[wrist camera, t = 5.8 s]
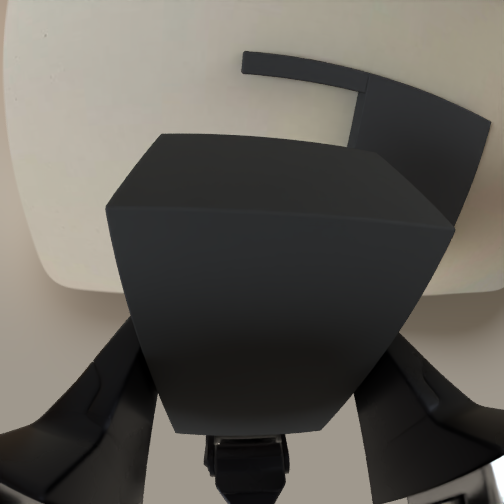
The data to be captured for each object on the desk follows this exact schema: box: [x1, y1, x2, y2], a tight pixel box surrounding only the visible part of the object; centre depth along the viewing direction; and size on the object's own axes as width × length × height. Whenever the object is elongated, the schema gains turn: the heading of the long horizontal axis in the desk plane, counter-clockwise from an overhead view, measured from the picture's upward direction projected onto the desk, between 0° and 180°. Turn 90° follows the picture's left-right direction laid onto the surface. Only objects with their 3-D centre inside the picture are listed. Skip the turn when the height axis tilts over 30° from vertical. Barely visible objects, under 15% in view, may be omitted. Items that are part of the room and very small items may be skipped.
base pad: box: [241, 51, 491, 226], centre depth 18 cm, size 14×18×1 cm
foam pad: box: [105, 134, 455, 436], centre depth 9 cm, size 10×6×4 cm, turn 175°
